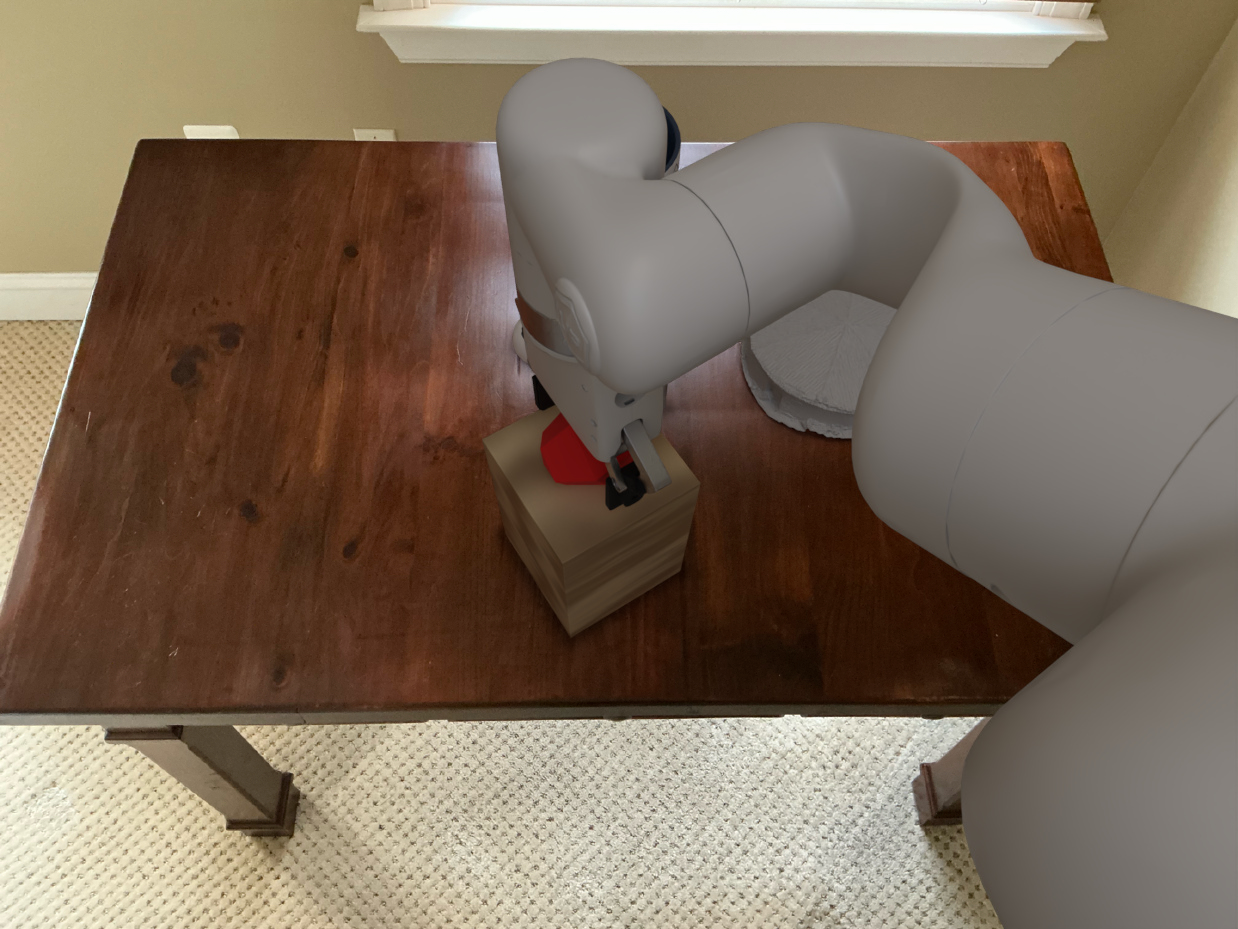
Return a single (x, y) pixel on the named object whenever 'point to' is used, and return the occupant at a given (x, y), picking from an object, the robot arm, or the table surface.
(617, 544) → the stand
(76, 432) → the table surface
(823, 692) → the table surface
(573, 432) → the apple
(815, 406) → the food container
